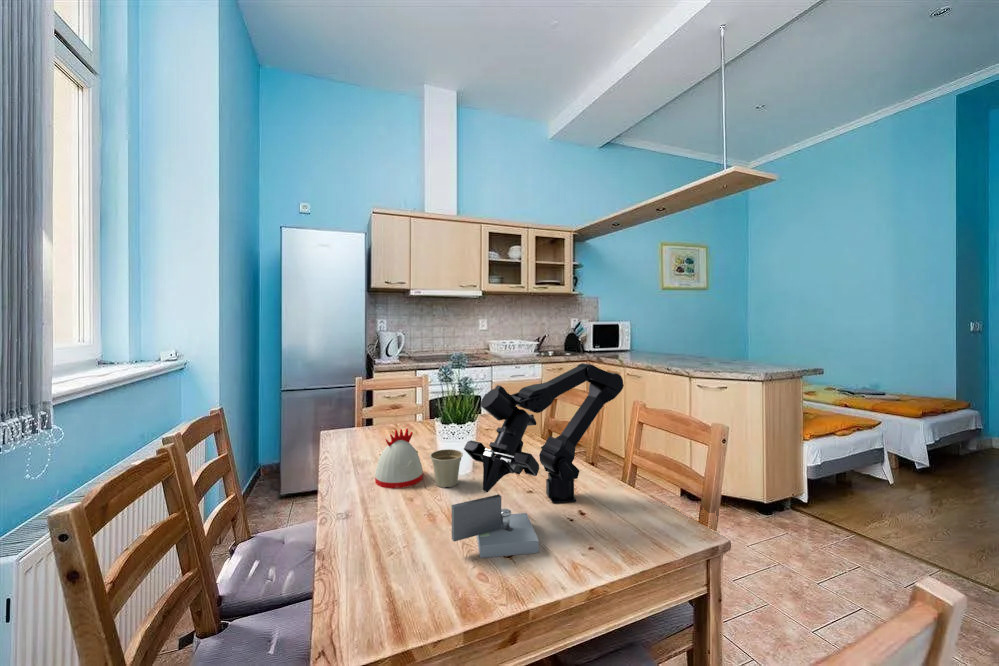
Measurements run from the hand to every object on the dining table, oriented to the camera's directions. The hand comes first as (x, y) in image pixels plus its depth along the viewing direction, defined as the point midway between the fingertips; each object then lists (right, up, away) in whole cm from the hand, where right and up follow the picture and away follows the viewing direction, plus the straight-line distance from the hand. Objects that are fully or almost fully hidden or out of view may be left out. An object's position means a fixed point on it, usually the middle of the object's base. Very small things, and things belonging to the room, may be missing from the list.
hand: (485, 491), depth 91 cm
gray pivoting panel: (0, -6, -6) cm, 9 cm away
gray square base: (+4, -9, -4) cm, 11 cm away
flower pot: (-12, -8, +26) cm, 30 cm away
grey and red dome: (-27, -8, +30) cm, 41 cm away
